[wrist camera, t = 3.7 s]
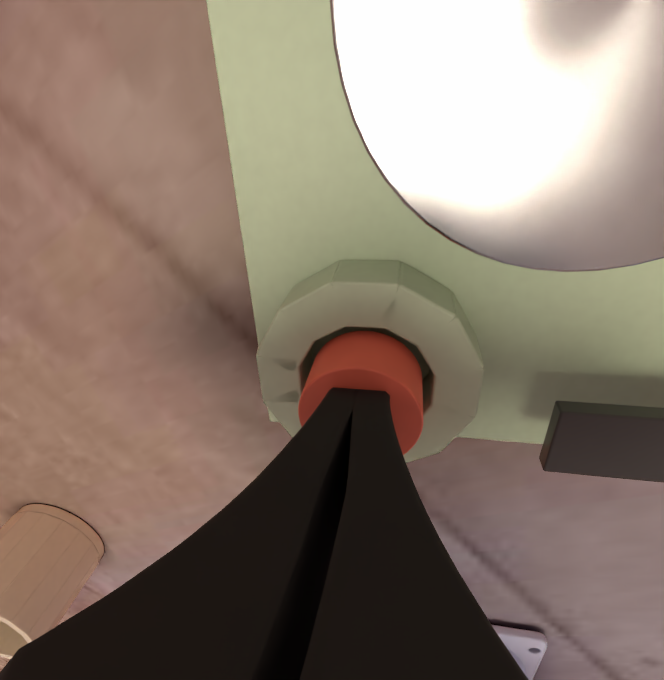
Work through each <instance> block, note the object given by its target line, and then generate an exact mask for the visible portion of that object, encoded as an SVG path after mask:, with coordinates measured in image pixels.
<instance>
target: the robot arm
mask: <svg viewBox="0 0 664 680" xmlns="http://www.w3.org/2000/svg"><path fill="white" fill-rule="evenodd" d="M546 648H547V640H546V637H545V636H544V635H543V634H542V633H540V632H535V631H529V630H522V629H516V628H509V627H503V626H496V625H491V623H490V622H489V620H488V619H487V617H486V615H485V614H484V612H483V611H482V609H481V607H480V606H479V604H478V603H477V601H476V599H475V598H474V596H473V594H472V593H471V591H470V590H469V588H468V586H467V585H466V583H465V582H464V580H463V578H462V577H461V575H460V574H459V572H458V570H457V568H456V567H455V565H454V563H453V561H452V559H451V558H450V556H449V554H448V552H447V550H446V549H445V547H444V545H443V543H442V541H441V540H440V538H439V536H438V534H437V532H436V530H435V528H434V526H433V524H432V522H431V520H430V518H429V516H428V514H427V512H426V510H425V508H424V505H423V503H422V501H421V499H420V497H419V494H418V492H417V490H416V487H415V485H414V483H413V480H412V478H411V475H410V473H409V470H408V468H407V465H406V462H405V459H404V456H403V454H402V451H401V448H400V445H399V442H398V439H397V435H396V432H395V428H394V424H393V420H392V415H391V409H390V395H389V394H388V393H387V392H386V391H377V390H363V389H348V388H334V387H333V388H332V389H330V390H329V391H328V393H327V394H326V396H325V397H324V398H323V400H322V401H321V403H320V404H319V405H318V407H317V408H316V410H315V411H314V412H313V414H312V415H311V416H310V417H309V419H308V420H307V421H306V423H305V424H304V425H303V426H302V428H301V429H300V430H299V431H298V432H297V434H296V435H295V436H294V437H293V438H292V440H291V441H290V442H289V443H288V444H287V445H286V447H285V448H284V449H283V450H282V451H281V452H280V453H279V454H278V455H277V456H276V458H275V459H274V460H273V461H272V462H271V463H270V464H269V465H268V466H267V467H266V468H265V469H264V470H263V471H262V472H261V473H260V475H259V476H258V477H257V478H256V479H255V480H254V481H253V482H252V483H250V484H249V485H248V486H247V487H246V488H245V489H244V490H243V491H242V492H241V493H240V494H239V495H238V496H237V497H236V498H235V499H233V500H232V501H231V502H230V503H229V504H228V505H227V506H226V507H225V508H223V509H222V510H221V511H220V512H219V513H218V514H216V515H215V516H214V517H213V518H212V519H210V520H209V521H208V522H207V523H205V524H204V525H203V526H202V527H201V528H199V529H198V530H197V531H196V532H195V533H193V534H192V535H191V536H190V537H188V538H187V539H186V540H184V541H183V542H182V543H181V544H179V545H178V546H177V547H175V548H174V549H173V550H171V551H170V552H169V553H167V554H166V555H164V556H163V557H162V558H160V559H159V560H157V561H156V562H154V563H153V564H152V565H150V566H149V567H147V568H146V569H145V570H143V571H142V572H140V573H139V574H137V575H136V576H135V577H133V578H132V579H130V580H129V581H127V582H126V583H125V584H123V585H122V586H120V587H119V588H117V589H116V590H114V591H113V592H111V593H110V594H108V595H107V596H105V597H104V598H102V599H101V600H99V601H97V602H96V603H94V604H92V605H91V606H89V607H87V608H86V609H84V610H83V611H81V612H79V613H78V614H76V615H74V616H73V617H71V618H69V619H68V620H66V621H65V622H63V623H61V624H60V625H58V626H56V627H55V628H53V629H51V630H50V631H48V632H47V633H45V634H43V635H42V636H40V637H38V638H37V639H35V640H33V641H32V642H30V643H28V644H26V645H25V646H23V647H21V648H19V649H18V650H17V652H16V653H15V654H14V656H13V657H12V658H11V659H10V661H9V662H8V663H7V665H6V666H5V667H4V668H3V670H2V671H1V672H0V680H533V678H534V676H535V674H536V671H537V669H538V667H539V664H540V662H541V660H542V658H543V655H544V653H545V651H546Z"/></svg>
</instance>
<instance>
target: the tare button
mask: <svg viewBox="0 0 664 680" xmlns="http://www.w3.org/2000/svg"><path fill="white" fill-rule="evenodd" d="M333 387H334V388H348V389H363V390H377V391H386V392H387V393H388V394H389V395H390V409H391V415H392V420H393V424H394V428H395V432H396V435H397V439H398V442H399V445H400V448H401V451H402V454H403V455H404V454H406V453H407V452H408V451H409V450H410V449H411V448H412V447H413V446H414V445H415V444H416V442H417V441H418V439H419V437H420V435H421V432H422V429H423V385H422V372H421V368H420V365H419V363H418V361H417V359H416V357H415V356H414V355H413V353H412V352H411V351H410V350H409V349H408V348H407V347H406V346H405V345H404V344H402V343H401V342H400V341H398V340H396V339H395V338H393V337H390V336H388V335H385V334H383V333H379V332H374V331H353V332H348V333H344V334H342V335H339V336H337V337H335V338H333V339H331V340H330V341H329V342H327V343H326V344H325V345H324V346H323V347H322V348H321V349H320V351H319V352H318V353H317V355H316V357H315V360H314V362H313V365H312V368H311V370H310V373H309V376H308V378H307V381H306V383H305V386H304V389H303V391H302V394H301V397H300V400H299V405H298V415H299V420H300V423H301V426H303V425H304V424H305V423H306V421H307V420H308V419H309V417H310V416H311V415H312V414H313V412H314V411H315V410H316V408H317V407H318V405H319V404H320V403H321V401H322V400H323V398H324V397H325V396H326V394H327V393H328V391H329V390H330V389H332V388H333Z"/></svg>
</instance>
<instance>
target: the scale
mask: <svg viewBox="0 0 664 680" xmlns="http://www.w3.org/2000/svg"><path fill="white" fill-rule="evenodd" d="M206 3H207V9H208V16H209V23H210V29H211V36H212V42H213V49H214V56H215V62H216V69H217V75H218V82H219V89H220V95H221V102H222V109H223V115H224V122H225V128H226V135H227V142H228V148H229V155H230V161H231V168H232V175H233V181H234V188H235V195H236V201H237V208H238V214H239V221H240V228H241V234H242V241H243V247H244V254H245V261H246V267H247V274H248V280H249V287H250V294H251V300H252V307H253V314H254V320H255V327H256V333H257V340H258V347H259V348H258V350H257V354H256V359H257V366H258V372H259V379H260V385H261V391H262V398H263V400H264V401H263V402H264V404H265V405H266V406H267V407H268V413H269V419H270V421H272V422H280V423H281V424H282V426H283V427H284V428H285V429H286V431H287V432H288V433H289V434H290V436H291V437H292V438H293V437H294V436H295V435H296V434H297V432H298V431H299V430H300V429H301V428H302V426H301V423H300V420H299V415H298V405H299V400H300V397H301V394H302V391H303V389H304V386H305V383H306V381H307V378H308V376H309V373H310V370H311V368H312V365H313V362H314V360H315V357H316V355H317V353H318V352H319V351H320V349H321V348H322V347H323V346H324V345H325V344H326V343H327V342H329V341H330V340H331V339H333V338H335V337H337V336H339V335H342V334H344V333H348V332H353V331H374V332H379V333H383V334H385V335H388V336H390V337H393V338H395V339H396V340H398V341H400V342H401V343H402V344H404V345H405V346H406V347H407V348H408V349H409V350H410V351H411V352H412V353H413V355H414V356H415V357H416V359H417V361H418V363H419V365H420V368H421V372H422V385H423V429H422V432H421V435H420V437H419V439H418V441H417V442H416V444H415V445H414V446H413V447H412V448H411V449H410V450H409V451H408V452H407V453H406V454H404V455H403V456H404V459H405V462H406V463H408V462H411V461H415V460H418V459H421V458H425V457H428V456H431V455H435V454H438V453H440V451H442V450H443V449H444V448H445V447H446V446H447V445H448V444H449V443H450V442H451V441H452V440H453V439H454V438H455V437H462V438H473V439H485V440H497V441H509V442H521V443H533V444H543V443H544V439H545V436H546V432H547V429H548V426H549V422H550V419H551V415H552V412H553V408H554V405H555V402H556V401H557V400H559V401H573V402H588V403H603V404H618V405H633V406H647V407H662V408H664V258H662V259H658V260H654V261H650V262H646V263H642V264H638V265H634V266H628V267H621V268H614V269H607V270H600V271H579V272H558V271H545V270H533V269H528V268H523V267H518V266H513V265H508V264H504V263H501V262H498V261H495V260H492V259H489V258H486V257H483V256H480V255H477V254H475V253H473V252H471V251H469V250H467V249H465V248H463V247H461V246H459V245H457V244H455V243H453V242H451V241H449V240H448V239H446V238H445V237H443V236H442V235H441V234H439V233H438V232H436V231H435V230H433V229H432V228H430V227H429V226H428V225H426V224H425V223H424V222H423V221H422V220H421V219H419V218H418V217H417V216H416V215H415V214H414V213H413V212H412V211H411V210H410V209H409V208H407V207H406V206H405V205H404V204H403V203H402V201H401V200H400V199H399V198H398V196H397V195H396V194H395V193H394V192H393V190H392V189H391V188H390V187H389V186H388V184H387V183H386V182H385V181H384V179H383V178H382V176H381V174H380V173H379V171H378V170H377V168H376V166H375V165H374V163H373V162H372V160H371V158H370V157H369V155H368V154H367V152H366V150H365V147H364V145H363V143H362V141H361V139H360V136H359V134H358V132H357V130H356V128H355V125H354V123H353V121H352V118H351V115H350V112H349V109H348V105H347V102H346V99H345V96H344V93H343V90H342V87H341V82H340V77H339V72H338V67H337V62H336V57H335V52H334V47H333V36H332V25H331V13H330V2H329V0H206Z"/></svg>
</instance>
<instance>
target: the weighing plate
mask: <svg viewBox="0 0 664 680" xmlns="http://www.w3.org/2000/svg"><path fill="white" fill-rule="evenodd" d="M329 2H330V13H331V25H332V36H333V47H334V52H335V57H336V62H337V67H338V72H339V77H340V82H341V87H342V90H343V93H344V96H345V99H346V102H347V105H348V109H349V112H350V115H351V118H352V121H353V123H354V125H355V128H356V130H357V132H358V134H359V136H360V139H361V141H362V143H363V145H364V147H365V150H366V152H367V154H368V155H369V157H370V158H371V160H372V162H373V163H374V165H375V166H376V168H377V170H378V171H379V173H380V174H381V176H382V178H383V179H384V181H385V182H386V183H387V184H388V186H389V187H390V188H391V189H392V190H393V192H394V193H395V194H396V195H397V196H398V198H399V199H400V200H401V201H402V203H403V204H404V205H405V206H406V207H407V208H409V209H410V210H411V211H412V212H413V213H414V214H415V215H416V216H417V217H418V218H419V219H421V220H422V221H423V222H424V223H425V224H426V225H428V226H429V227H430V228H432V229H433V230H435V231H436V232H438V233H439V234H441V235H442V236H443V237H445V238H446V239H448V240H449V241H451V242H453V243H455V244H457V245H459V246H461V247H463V248H465V249H467V250H469V251H471V252H473V253H475V254H477V255H480V256H483V257H486V258H489V259H492V260H495V261H498V262H501V263H504V264H508V265H513V266H518V267H523V268H528V269H533V270H545V271H558V272H579V271H600V270H607V269H614V268H621V267H628V266H634V265H638V264H642V263H646V262H650V261H654V260H658V259H662V258H664V0H329ZM539 459H540V462H541V465H542V467H543V470H544V471H548V472H559V473H570V474H580V475H591V476H602V477H612V478H623V479H633V480H644V481H655V482H664V408H662V407H647V406H633V405H618V404H603V403H588V402H573V401H559V400H557V401H556V402H555V405H554V408H553V412H552V415H551V419H550V422H549V426H548V429H547V432H546V436H545V439H544V443H543V446H542V450H541V453H540V457H539Z"/></svg>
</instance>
